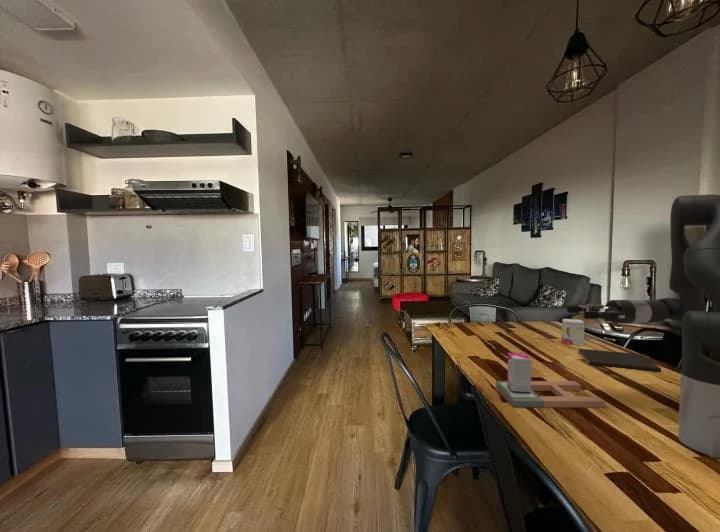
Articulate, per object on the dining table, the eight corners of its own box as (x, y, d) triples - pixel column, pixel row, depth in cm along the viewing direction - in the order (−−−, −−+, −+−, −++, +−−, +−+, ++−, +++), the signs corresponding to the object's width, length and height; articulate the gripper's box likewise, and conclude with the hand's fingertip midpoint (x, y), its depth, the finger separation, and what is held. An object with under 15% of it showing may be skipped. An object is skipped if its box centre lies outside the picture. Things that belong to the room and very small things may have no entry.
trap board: (604, 407, 95) (604, 400, 95) (514, 407, 96) (514, 400, 96) (575, 386, 109) (575, 380, 109) (496, 386, 110) (496, 380, 110)
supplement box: (531, 394, 100) (532, 359, 99) (511, 393, 101) (512, 358, 100) (525, 385, 105) (525, 352, 105) (506, 385, 106) (506, 352, 106)
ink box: (563, 344, 154) (564, 320, 153) (561, 341, 158) (561, 318, 158) (584, 346, 151) (584, 322, 150) (581, 343, 155) (582, 319, 154)
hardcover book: (578, 353, 142) (578, 348, 142) (641, 359, 134) (641, 354, 134) (588, 366, 128) (589, 360, 127) (661, 373, 119) (661, 368, 119)
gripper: (611, 296, 106) (562, 297, 107) (647, 304, 92) (590, 304, 93) (610, 317, 107) (561, 318, 108) (646, 329, 93) (590, 329, 93)
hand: (575, 312), depth 100 cm, fingers open, 8 cm apart
